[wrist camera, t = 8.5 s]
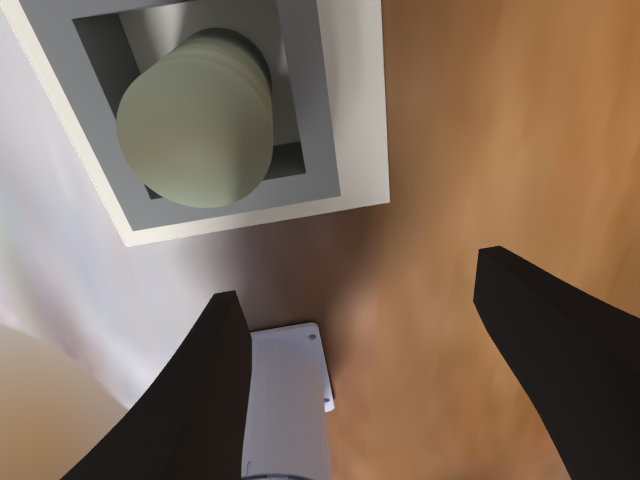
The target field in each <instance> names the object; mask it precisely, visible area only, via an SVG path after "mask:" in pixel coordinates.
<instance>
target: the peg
mask: <svg viewBox="0 0 640 480" xmlns="http://www.w3.org/2000/svg"><path fill="white" fill-rule="evenodd" d="M116 129H117V137H118V142H119V145H120V148H121V151H122V154H123V156H124V158H125V160H126V162H127V163H128V165H129V166H130V168H131V169H132V171H133V172H134V173H135V174H136V176H137V177H138V178H139V179H140V180H141V181H142V182H143V183H144V184H145V185H146V186H148V187H149V188H150V189H151V190H153V191H154V192H156V193H157V194H159V195H160V196H162V197H164V198H166V199H168V200H170V201H173V202H175V203H178V204H181V205H185V206H190V207H196V208H216V207H221V206H226V205H229V204H232V203H235V202H237V201H239V200H241V199H243V198H244V197H246V196H247V195H249V194H250V193H251V192H252V191H254V190H255V189H256V187H257V186H258V185H259V184H260V183H261V181H262V180H263V179H264V177H265V175H266V173H267V171H268V169H269V166H270V163H271V159H272V154H273V120H272V83H271V74H270V70H269V67H268V64H267V62H266V60H265V58H264V56H263V54H262V53H261V51H260V50H259V49H258V48H257V46H256V45H255V44H254V43H253V42H252V41H250V40H249V39H248V38H247V37H245V36H243V35H242V34H240V33H238V32H236V31H233V30H230V29H226V28H219V27H218V28H207V29H203V30H200V31H198V32H196V33H194V34H192V35H191V36H190V37H188V38H187V39H186V40H185V41H183V42H182V43H181V44H179V45H178V46H177V47H176V48H174V49H173V50H172V51H171V52H169V53H168V54H167V55H166V56H164V57H163V58H162V59H160V60H159V61H158V62H157V63H155V64H154V65H153V66H152V67H150V68H149V69H148V70H147V71H145V72H144V73H143V74H141V75H140V76H139V77H138V78H136V79H135V80H134V82H133V83H132V84H131V85H130V86H129V87H128V89H127V90H126V92H125V93H124V95H123V97H122V99H121V102H120V104H119V108H118V112H117V120H116Z"/></svg>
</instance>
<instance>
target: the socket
mask: <svg viewBox="0 0 640 480" xmlns="http://www.w3.org/2000/svg"><path fill="white" fill-rule="evenodd" d="M0 6H1V8H2V10H3V12H4V14H5V16H6V18H7V20H8V21H9V23H10V25H11V27H12V29H13V31H14V33H15V35H16V37H17V39H18V41H19V43H20V45H21V46H22V48H23V50H24V52H25V54H26V56H27V58H28V60H29V62H30V64H31V66H32V68H33V69H34V71H35V73H36V75H37V77H38V79H39V81H40V83H41V85H42V87H43V89H44V91H45V92H46V94H47V96H48V98H49V100H50V102H51V104H52V106H53V108H54V110H55V112H56V114H57V115H58V117H59V119H60V121H61V123H62V125H63V127H64V129H65V131H66V133H67V135H68V137H69V139H70V140H71V142H72V144H73V146H74V148H75V150H76V152H77V154H78V156H79V158H80V160H81V162H82V163H83V165H84V167H85V169H86V171H87V173H88V175H89V177H90V179H91V181H92V183H93V185H94V186H95V188H96V190H97V192H98V194H99V196H100V198H101V200H102V202H103V204H104V206H105V208H106V209H107V211H108V213H109V215H110V217H111V219H112V221H113V223H114V225H115V227H116V229H117V231H118V233H119V234H120V236H121V238H122V240H123V242H124V244H125V246H126V247H129V246H135V245H141V244H147V243H153V242H158V241H164V240H170V239H176V238H182V237H188V236H194V235H200V234H206V233H212V232H218V231H223V230H229V229H235V228H241V227H247V226H253V225H259V224H265V223H271V222H277V221H283V220H289V219H294V218H300V217H306V216H312V215H318V214H324V213H330V212H336V211H342V210H348V209H354V208H359V207H365V206H371V205H377V204H383V203H389V202H390V194H389V172H388V149H387V127H386V104H385V82H384V59H383V37H382V15H381V0H0ZM218 27H219V28H226V29H230V30H233V31H236V32H238V33H240V34H242V35H243V36H245V37H247V38H248V39H249V40H250V41H252V42H253V43H254V44H255V45H256V46H257V48H258V49H259V50H260V51H261V53H262V54H263V56H264V58H265V60H266V62H267V64H268V67H269V70H270V74H271V83H272V120H273V154H272V159H271V163H270V166H269V169H268V171H267V173H266V175H265V177H264V179H263V180H262V181H261V183H260V184H259V185H258V186H257V187H256V189H255V190H254V191H252V192H251V193H250V194H249V195H247V196H246V197H244V198H243V199H241V200H239V201H237V202H235V203H232V204H229V205H226V206H221V207H216V208H196V207H190V206H185V205H181V204H178V203H175V202H173V201H170V200H168V199H166V198H164V197H162V196H160V195H159V194H157V193H156V192H154V191H153V190H151V189H150V188H149V187H148V186H146V185H145V184H144V183H143V182H142V181H141V180H140V179H139V178H138V177H137V176H136V174H135V173H134V172H133V171H132V169H131V168H130V166H129V165H128V163H127V162H126V160H125V158H124V156H123V154H122V151H121V148H120V145H119V142H118V137H117V129H116V120H117V112H118V108H119V104H120V102H121V99H122V97H123V95H124V93H125V92H126V90H127V89H128V87H129V86H130V85H131V84H132V83H133V82H134V80H135V79H136V78H138V77H139V76H140V75H141V74H143V73H144V72H145V71H147V70H148V69H149V68H150V67H152V66H153V65H154V64H155V63H157V62H158V61H159V60H160V59H162V58H163V57H164V56H166V55H167V54H168V53H169V52H171V51H172V50H173V49H174V48H176V47H177V46H178V45H179V44H181V43H182V42H183V41H185V40H186V39H187V38H188V37H190V36H191V35H192V34H194V33H196V32H198V31H200V30H203V29H207V28H218Z"/></svg>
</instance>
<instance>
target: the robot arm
mask: <svg viewBox="0 0 640 480" xmlns="http://www.w3.org/2000/svg"><path fill="white" fill-rule="evenodd" d="M473 302H474V304H475V306H476V309H477V311H478V313H479V315H480V318H481V320H482V322H483V324H484V326H485V328H486V330H487V332H488V334H489V335H490V337H491V338H492V340H493V342H494V343H495V345H496V346H497V348H498V350H499V351H500V353H501V354H502V356H503V357H504V359H505V361H506V362H507V364H508V365H509V367H510V368H511V370H512V371H513V373H514V375H515V376H516V378H517V379H518V381H519V382H520V384H521V386H522V387H523V389H524V390H525V392H526V393H527V395H528V396H529V398H530V400H531V401H532V403H533V405H534V407H535V408H536V410H537V412H538V413H539V415H540V417H541V419H542V421H543V423H544V425H545V427H546V429H547V431H548V433H549V435H550V437H551V439H552V441H553V443H554V445H555V446H556V448H557V450H558V453H559V455H560V457H561V459H562V461H563V463H564V465H565V467H566V469H567V471H568V473H569V475H570V477H571V479H572V480H640V318H638V317H636V316H633V315H631V314H629V313H626V312H624V311H622V310H620V309H618V308H615V307H613V306H611V305H609V304H607V303H605V302H603V301H601V300H599V299H597V298H595V297H593V296H591V295H589V294H587V293H585V292H583V291H581V290H579V289H577V288H575V287H574V286H572V285H570V284H568V283H566V282H564V281H562V280H561V279H559V278H557V277H555V276H553V275H552V274H550V273H548V272H546V271H544V270H543V269H541V268H539V267H537V266H536V265H534V264H532V263H530V262H529V261H527V260H525V259H523V258H522V257H520V256H518V255H516V254H514V253H513V252H511V251H509V250H507V249H505V248H503V247H501V246H495V247H489V248H483V249H479V253H478V262H477V271H476V280H475V289H474V298H473ZM311 334H314V335H311ZM333 409H334V401H333V396H332V391H331V386H330V381H329V376H328V371H327V367H326V362H325V357H324V352H323V347H322V342H321V338H320V333H319V328H318V325H317V324H316V323H304V324H298V325H292V326H287V327H281V328H275V329H269V330H263V331H257V332H251V333H250V331H249V328H248V326H247V323H246V320H245V317H244V314H243V311H242V309H241V306H240V303H239V300H238V297H237V294H236V292H235V290H234V291H228V292H222V293H216V294H214V295H213V297H212V298H211V299H210V301H209V303H208V304H207V306H206V307H205V309H204V310H203V312H202V313H201V315H200V317H199V318H198V320H197V321H196V323H195V324H194V326H193V327H192V329H191V330H190V332H189V333H188V335H187V336H186V338H185V339H184V341H183V342H182V344H181V345H180V347H179V348H178V349H177V351H176V352H175V354H174V355H173V357H172V358H171V359H170V361H169V362H168V363H167V365H166V366H165V367H164V369H163V370H162V371H161V373H160V374H159V375H158V377H157V378H156V379H155V380H154V382H153V383H152V384H151V386H150V387H149V388H148V389H147V390H146V392H145V393H144V394H143V395H142V396H141V398H140V399H139V400H138V401H137V402H136V403H135V405H134V406H133V407H132V408H131V409H130V410H129V411H128V413H127V414H126V415H125V416H124V417H123V418H122V419H121V420H120V421H119V422H118V423H117V424H116V425H115V426H114V427H113V428H112V429H111V431H110V432H109V433H108V434H107V435H106V436H105V437H104V438H103V439H102V440H101V441H100V442H99V443H98V444H97V445H96V446H95V447H94V448H93V449H92V450H91V451H90V452H89V453H88V454H87V455H86V456H85V457H84V458H83V459H82V460H81V461H79V462H78V463H77V464H76V465H75V466H74V467H73V468H72V469H71V470H70V471H69V472H68V473H67V474H65V475H64V476H63V477H62V478H61V479H60V480H332V471H331V462H330V453H329V444H328V434H327V425H326V416H325V412H328V411H331V410H333Z"/></svg>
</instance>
